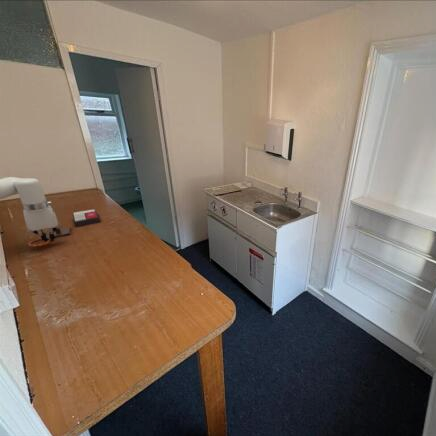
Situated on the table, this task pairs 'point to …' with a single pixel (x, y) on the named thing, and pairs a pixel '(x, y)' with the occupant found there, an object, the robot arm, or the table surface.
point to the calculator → (85, 217)
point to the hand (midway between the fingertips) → (49, 240)
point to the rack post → (60, 232)
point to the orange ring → (38, 244)
